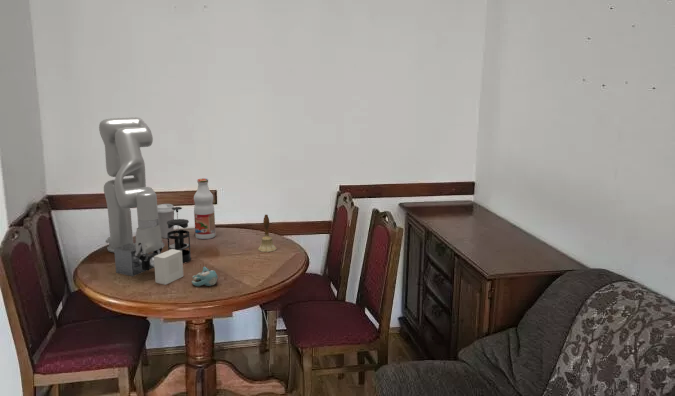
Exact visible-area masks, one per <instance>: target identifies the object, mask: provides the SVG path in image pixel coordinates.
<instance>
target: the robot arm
mask: <svg viewBox="0 0 675 396" xmlns="http://www.w3.org/2000/svg"><path fill="white" fill-rule="evenodd" d="M98 130H99V134H100V138H101V139H102V142H103V145H104V151H105V153H104V154H105V168H106V172H107V175H108V177H112V178H114V179H110V180H107V181H106V182H104V184H103V192H104V197H105V200H106V206H107V215H108V226H109V227H108V229H109V236H108V237H107V239H105V241H104V242H105V243H107V244H109V245H108V246H107V251H108V252H110V253H114V249H115V248H118V247H121V246H123V245H126V244H129V243H130V244H135V245H136V253H135V256H136V257H138V258H139V259H140V260H141V261H142V270H146V271H145V272H149V271H150V270H149V261H147V260H148V254H150V253H157V254H161V253H162V251H163V249H164V247H165V243H164V242H163V238H162V236H161V230H160V226H159V225H158V220H159V218H158V210H157V205H158V198H157V197H158V196H157V193H156V192H155V190H154V189H153V188H152V187H149V186H147V185H146V183H147V182H146V179H147V178H146V163H145V159H144V158H143V155H142V151H141V148H146V147H151V146H152V144H153V141H154V137H153V134H152V131H151V128H150V127H149V125H148V124H147V123H146V122H145V121H144V120H143V119H142V118H140V117H117V118H116V117H115V118H114V117H113V118H105V119H103V120H101V121H100V122H99V125H98ZM130 176H132V177H130ZM124 177H125V178H124ZM134 208H136V213H137V228H136V233H135V242H134V237H133V223H132V221H133V220H132V211H131V209H134ZM140 253H141V254H140ZM144 254H145V257H144Z"/></svg>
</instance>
